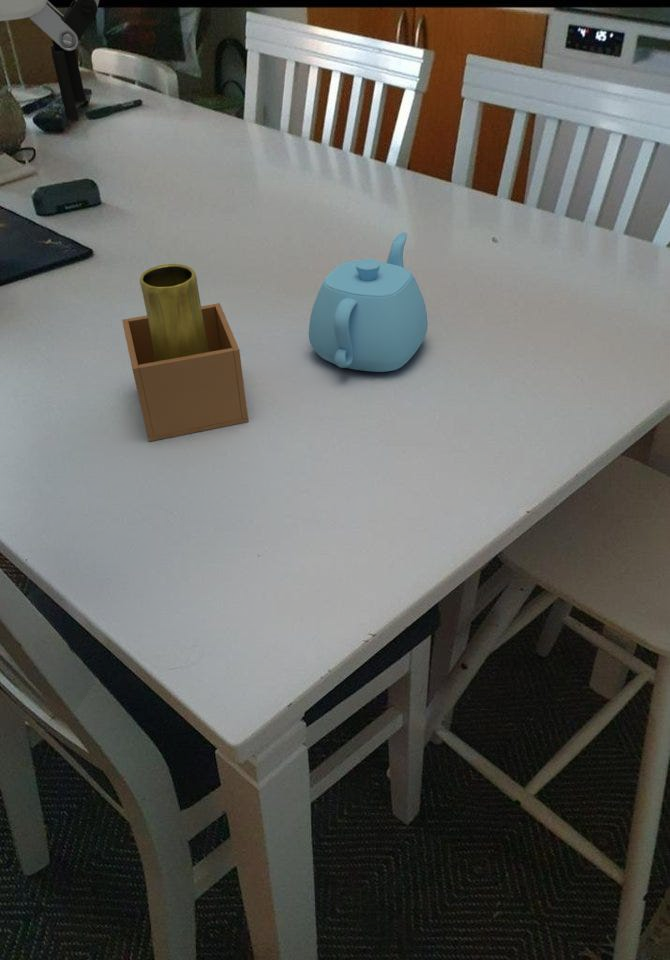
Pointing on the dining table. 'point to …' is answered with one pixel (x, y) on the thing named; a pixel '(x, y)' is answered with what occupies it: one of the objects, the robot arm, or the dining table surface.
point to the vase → (174, 311)
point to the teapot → (369, 314)
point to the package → (188, 380)
